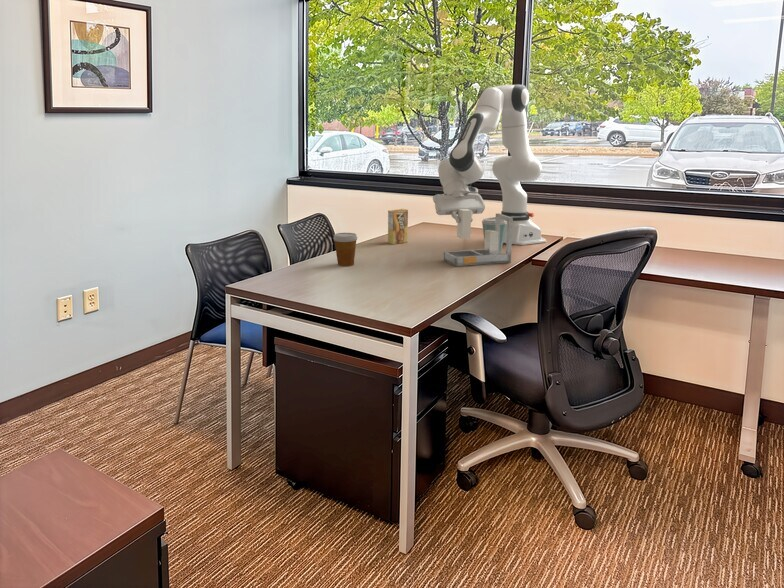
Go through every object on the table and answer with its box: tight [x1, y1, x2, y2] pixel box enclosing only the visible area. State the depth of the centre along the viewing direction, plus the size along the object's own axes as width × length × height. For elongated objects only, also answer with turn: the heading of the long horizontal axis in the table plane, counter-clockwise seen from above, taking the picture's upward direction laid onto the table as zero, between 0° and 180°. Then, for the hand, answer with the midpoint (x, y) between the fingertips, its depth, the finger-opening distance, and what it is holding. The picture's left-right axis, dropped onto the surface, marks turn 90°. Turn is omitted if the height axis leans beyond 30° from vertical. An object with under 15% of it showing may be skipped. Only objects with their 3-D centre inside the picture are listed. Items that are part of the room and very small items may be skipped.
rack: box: [443, 213, 513, 267], centre depth 255 cm, size 24×12×18 cm, turn 107°
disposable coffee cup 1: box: [332, 232, 358, 267], centre depth 250 cm, size 10×10×12 cm
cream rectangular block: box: [456, 209, 472, 240], centre depth 251 cm, size 4×5×11 cm
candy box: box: [387, 208, 409, 245], centre depth 294 cm, size 9×4×15 cm, turn 129°
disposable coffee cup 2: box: [481, 216, 507, 254], centre depth 272 cm, size 11×11×15 cm
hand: (464, 221), depth 250 cm, fingers closed on cream rectangular block, 3 cm apart
